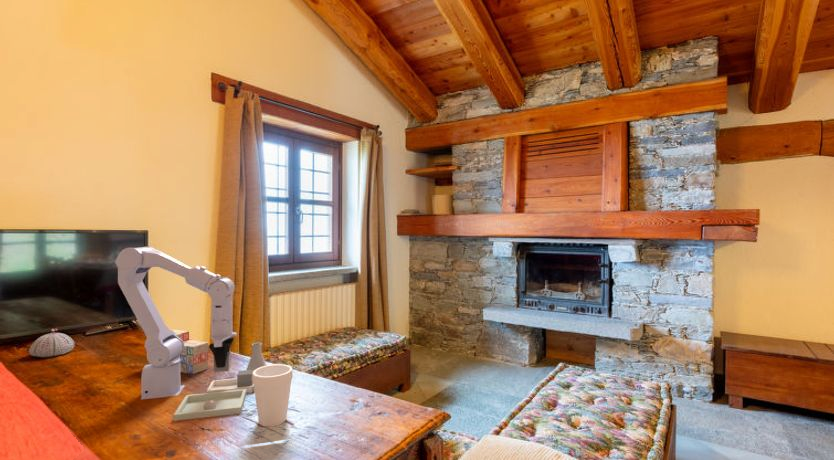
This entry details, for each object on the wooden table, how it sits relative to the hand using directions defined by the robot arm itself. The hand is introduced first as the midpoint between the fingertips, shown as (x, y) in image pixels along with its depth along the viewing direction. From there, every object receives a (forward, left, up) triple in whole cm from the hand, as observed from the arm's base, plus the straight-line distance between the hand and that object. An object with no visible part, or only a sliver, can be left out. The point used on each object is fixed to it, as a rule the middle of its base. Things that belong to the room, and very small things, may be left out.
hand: (222, 364), depth 122 cm
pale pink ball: (-1, -15, -7) cm, 17 cm away
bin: (-1, -12, -8) cm, 14 cm away
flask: (+8, +13, -8) cm, 18 cm away
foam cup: (+15, -25, -8) cm, 31 cm away
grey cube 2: (0, 0, -1) cm, 1 cm away
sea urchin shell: (-70, +59, -8) cm, 92 cm away
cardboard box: (-18, +27, -8) cm, 34 cm away
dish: (+3, 0, -8) cm, 8 cm away
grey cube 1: (+6, 0, -7) cm, 10 cm away
